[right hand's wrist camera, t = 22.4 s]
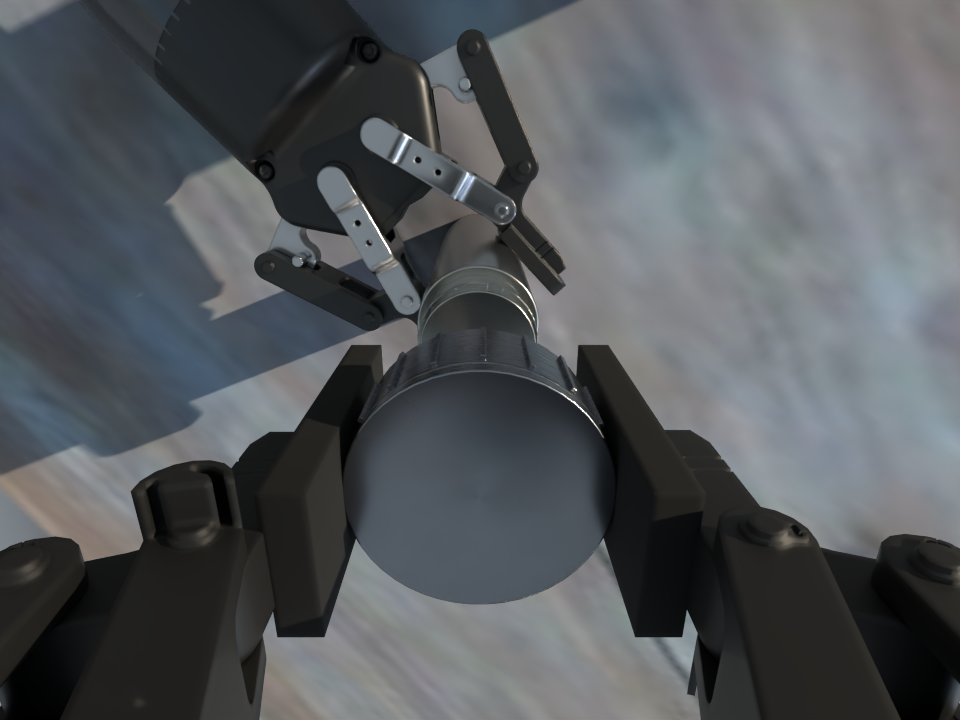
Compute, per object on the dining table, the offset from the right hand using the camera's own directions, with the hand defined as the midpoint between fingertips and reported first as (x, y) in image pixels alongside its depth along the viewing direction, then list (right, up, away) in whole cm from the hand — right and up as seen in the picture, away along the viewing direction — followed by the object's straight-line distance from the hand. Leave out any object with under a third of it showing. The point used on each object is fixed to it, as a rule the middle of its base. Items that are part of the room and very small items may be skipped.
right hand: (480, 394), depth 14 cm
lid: (0, -2, -4) cm, 4 cm away
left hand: (+2, +3, +12) cm, 12 cm away
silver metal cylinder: (0, +7, +17) cm, 18 cm away
